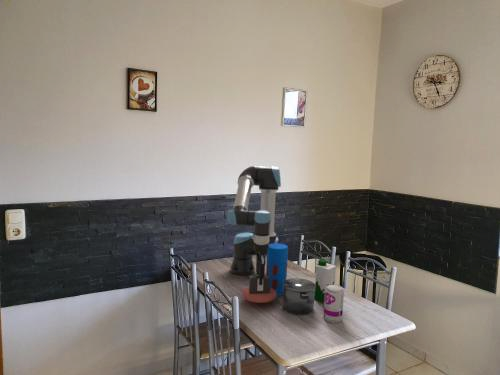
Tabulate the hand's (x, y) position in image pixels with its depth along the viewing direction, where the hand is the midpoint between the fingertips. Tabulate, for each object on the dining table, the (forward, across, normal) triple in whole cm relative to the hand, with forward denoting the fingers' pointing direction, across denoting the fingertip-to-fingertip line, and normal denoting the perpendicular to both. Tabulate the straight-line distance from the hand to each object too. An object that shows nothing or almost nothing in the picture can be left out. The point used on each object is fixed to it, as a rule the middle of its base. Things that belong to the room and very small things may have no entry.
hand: (259, 288), depth 182 cm
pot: (+7, +8, +18) cm, 21 cm away
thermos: (+7, -12, +11) cm, 18 cm away
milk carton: (+7, -2, +34) cm, 35 cm away
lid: (+3, 0, 0) cm, 3 cm away
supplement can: (+7, +20, +31) cm, 37 cm away
